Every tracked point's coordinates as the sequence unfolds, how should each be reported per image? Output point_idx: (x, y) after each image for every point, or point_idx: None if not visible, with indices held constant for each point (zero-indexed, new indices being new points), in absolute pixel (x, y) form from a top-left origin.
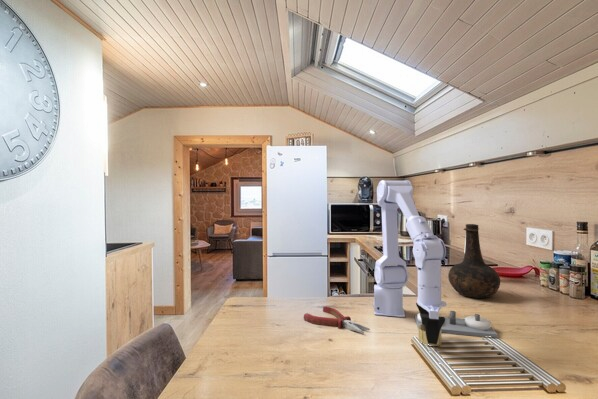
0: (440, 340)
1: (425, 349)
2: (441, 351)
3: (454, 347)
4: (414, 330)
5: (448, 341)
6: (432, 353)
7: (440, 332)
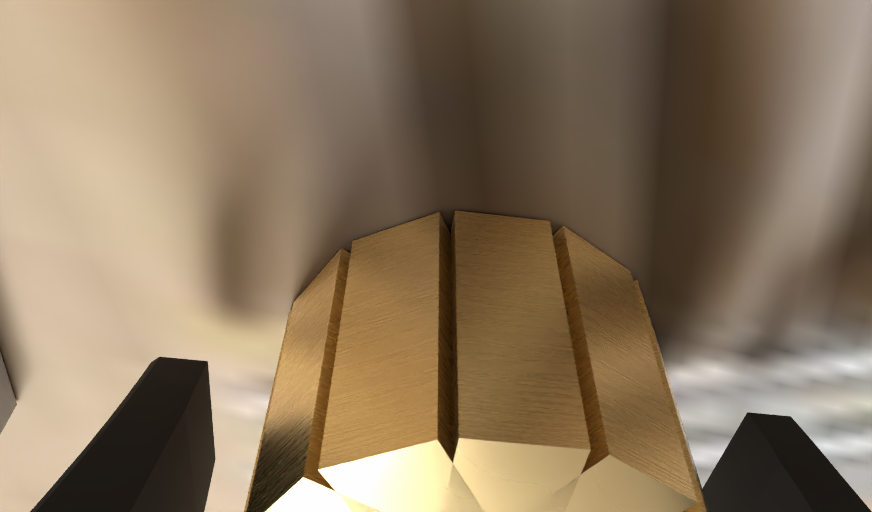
0: (617, 316)
1: (715, 451)
2: (815, 290)
3: (687, 15)
4: (43, 445)
5: (383, 42)
6: (849, 408)
7: (645, 451)
